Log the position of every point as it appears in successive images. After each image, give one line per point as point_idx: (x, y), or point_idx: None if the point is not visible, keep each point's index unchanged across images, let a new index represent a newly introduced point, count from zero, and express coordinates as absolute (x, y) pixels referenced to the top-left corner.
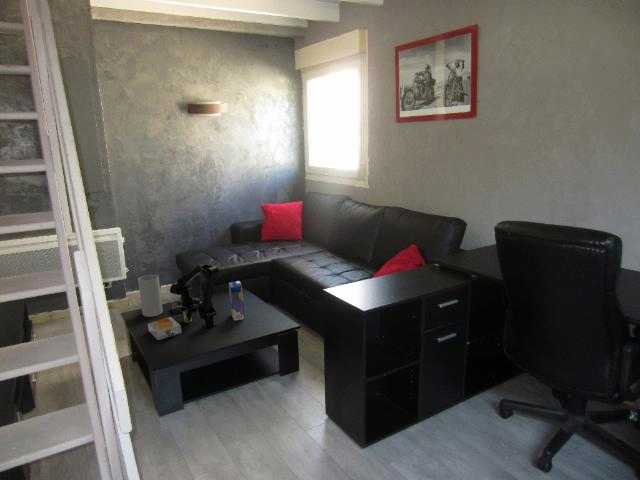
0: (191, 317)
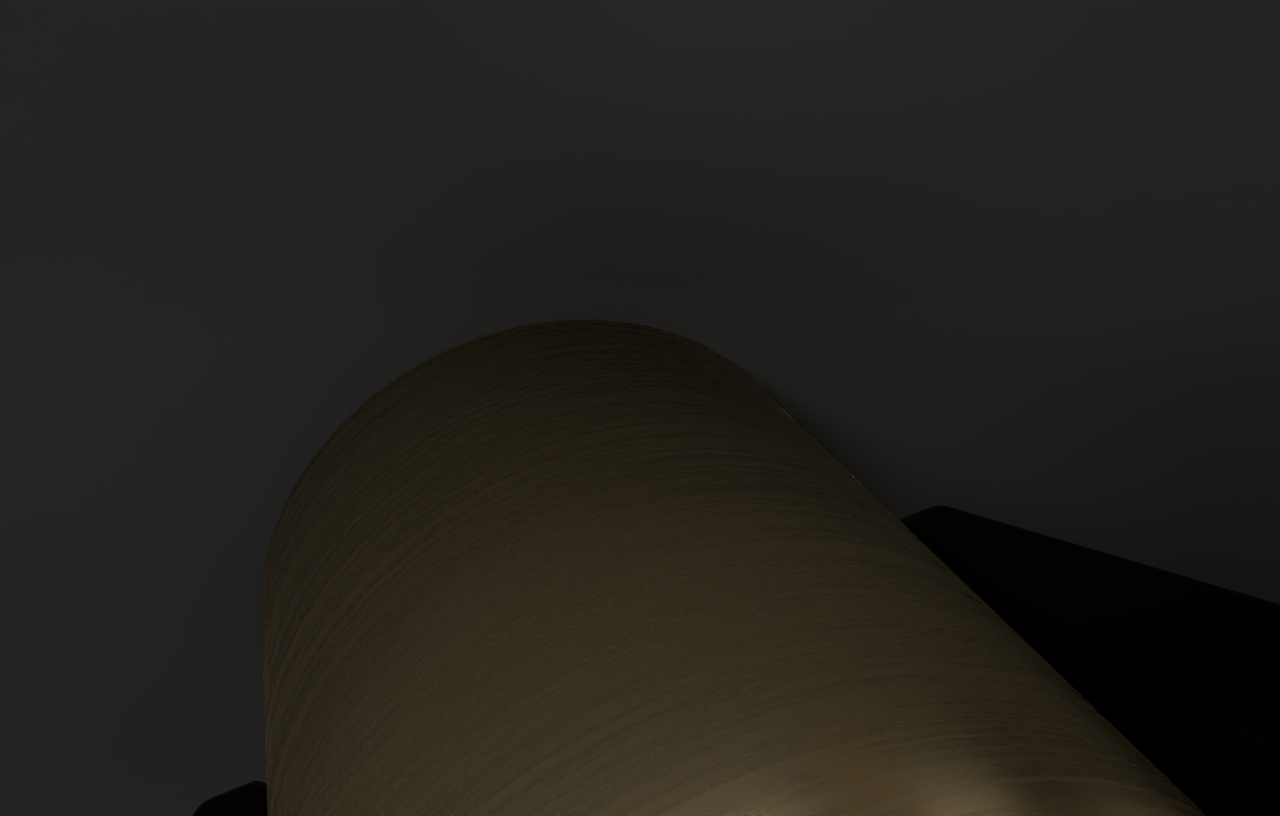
0: (852, 497)
